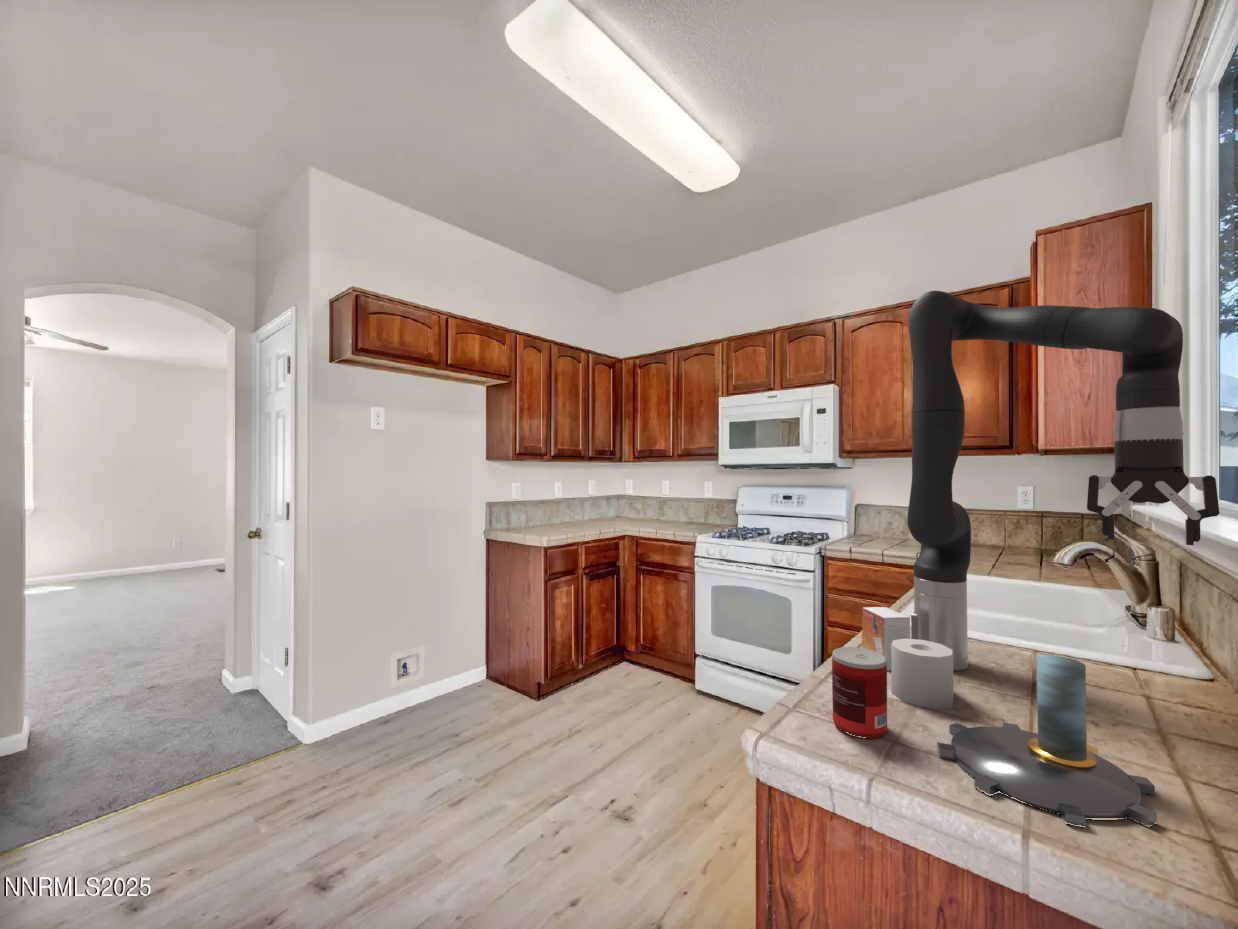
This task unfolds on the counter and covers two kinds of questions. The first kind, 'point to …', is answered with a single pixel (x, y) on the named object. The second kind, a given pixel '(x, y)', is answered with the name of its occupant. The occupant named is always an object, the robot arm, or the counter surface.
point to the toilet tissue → (922, 673)
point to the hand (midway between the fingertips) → (1149, 542)
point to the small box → (883, 630)
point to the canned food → (859, 691)
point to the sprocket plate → (1047, 775)
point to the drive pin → (1062, 707)
